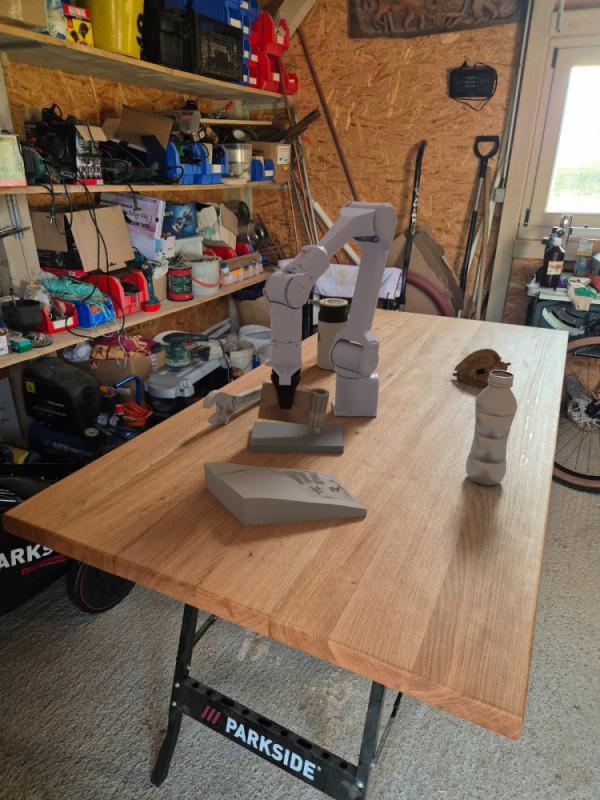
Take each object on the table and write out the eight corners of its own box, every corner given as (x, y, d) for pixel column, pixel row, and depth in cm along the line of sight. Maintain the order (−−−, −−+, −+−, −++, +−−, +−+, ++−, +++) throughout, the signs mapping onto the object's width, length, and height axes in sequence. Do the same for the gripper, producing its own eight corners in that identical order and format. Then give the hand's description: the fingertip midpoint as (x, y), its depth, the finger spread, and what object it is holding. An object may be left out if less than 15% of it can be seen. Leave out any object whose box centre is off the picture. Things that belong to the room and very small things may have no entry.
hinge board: (340, 429, 111) (341, 409, 109) (343, 452, 101) (344, 431, 100) (254, 428, 111) (253, 408, 109) (249, 451, 101) (249, 430, 100)
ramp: (373, 489, 91) (375, 462, 89) (361, 548, 77) (363, 517, 75) (220, 467, 97) (218, 441, 95) (182, 518, 83) (180, 488, 80)
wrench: (288, 400, 132) (208, 433, 107) (282, 398, 133) (201, 431, 108) (290, 368, 129) (209, 395, 105) (284, 367, 130) (202, 393, 105)
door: (257, 420, 102) (261, 387, 99) (258, 412, 106) (263, 380, 103) (323, 429, 103) (329, 396, 100) (323, 421, 106) (329, 389, 103)
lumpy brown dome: (442, 359, 134) (504, 347, 125) (463, 334, 153) (517, 322, 145) (452, 396, 136) (513, 386, 128) (472, 367, 156) (526, 357, 147)
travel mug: (346, 362, 149) (350, 298, 142) (344, 371, 142) (347, 305, 135) (318, 360, 150) (320, 297, 143) (314, 369, 143) (316, 304, 136)
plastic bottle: (498, 494, 89) (520, 384, 81) (458, 482, 92) (475, 375, 84) (507, 477, 94) (528, 371, 86) (469, 466, 97) (485, 364, 89)
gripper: (266, 327, 104) (267, 391, 110) (261, 350, 91) (262, 421, 96) (302, 328, 104) (301, 391, 110) (302, 351, 91) (301, 422, 96)
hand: (285, 405), depth 103 cm, fingers closed on door, 2 cm apart
